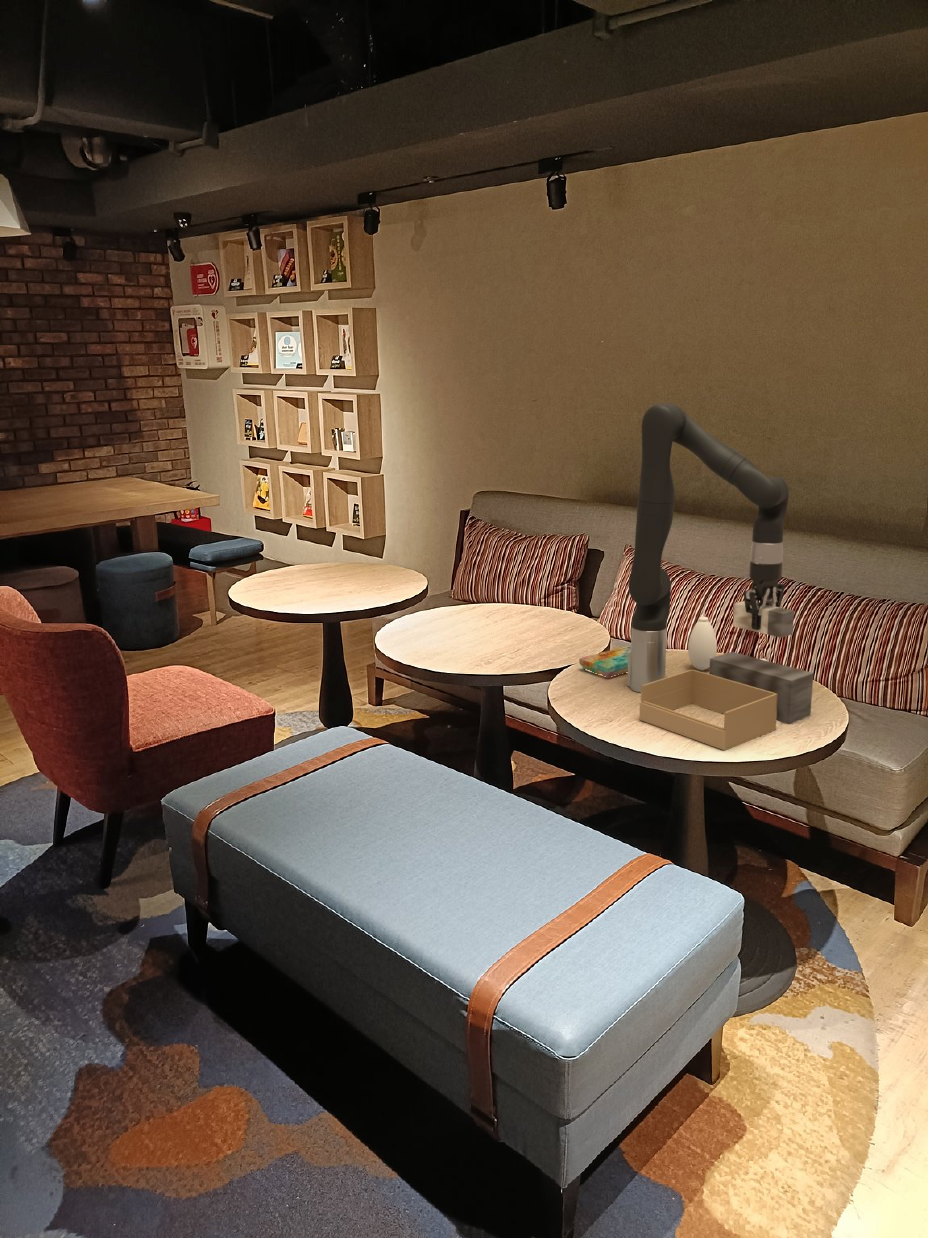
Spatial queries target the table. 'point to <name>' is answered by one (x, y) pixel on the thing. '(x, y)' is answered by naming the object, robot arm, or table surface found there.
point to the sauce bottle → (702, 644)
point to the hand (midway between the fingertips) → (762, 627)
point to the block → (765, 620)
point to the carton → (740, 703)
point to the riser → (769, 682)
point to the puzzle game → (607, 662)
